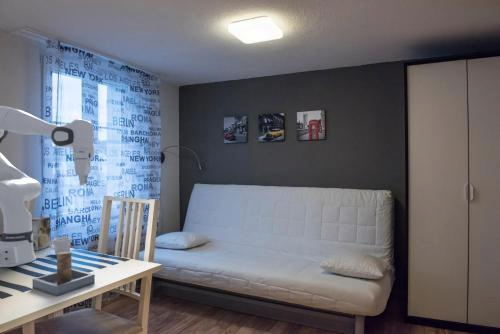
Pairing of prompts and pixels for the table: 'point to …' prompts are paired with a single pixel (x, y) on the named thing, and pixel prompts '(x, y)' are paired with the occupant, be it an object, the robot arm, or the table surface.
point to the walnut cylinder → (64, 267)
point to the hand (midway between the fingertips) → (83, 184)
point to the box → (50, 283)
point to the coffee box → (41, 232)
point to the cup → (61, 244)
